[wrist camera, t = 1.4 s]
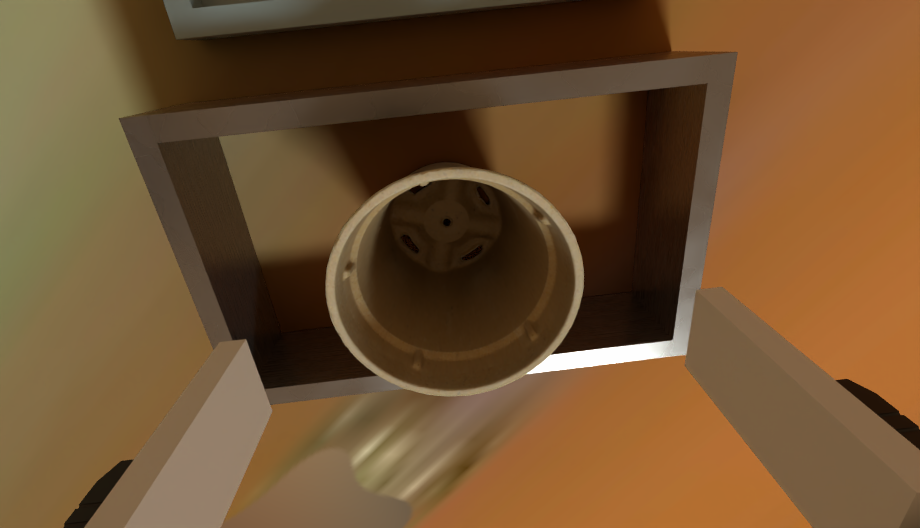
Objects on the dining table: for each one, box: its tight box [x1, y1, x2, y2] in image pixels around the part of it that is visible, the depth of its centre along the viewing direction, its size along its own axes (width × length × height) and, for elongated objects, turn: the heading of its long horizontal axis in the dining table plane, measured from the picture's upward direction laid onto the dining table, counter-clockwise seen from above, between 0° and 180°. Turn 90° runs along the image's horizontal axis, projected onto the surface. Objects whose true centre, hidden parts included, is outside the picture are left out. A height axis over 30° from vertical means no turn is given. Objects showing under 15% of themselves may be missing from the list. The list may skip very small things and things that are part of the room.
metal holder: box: [119, 51, 738, 405], centre depth 22 cm, size 23×14×5 cm, turn 95°
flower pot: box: [325, 162, 584, 396], centre depth 20 cm, size 9×9×9 cm
